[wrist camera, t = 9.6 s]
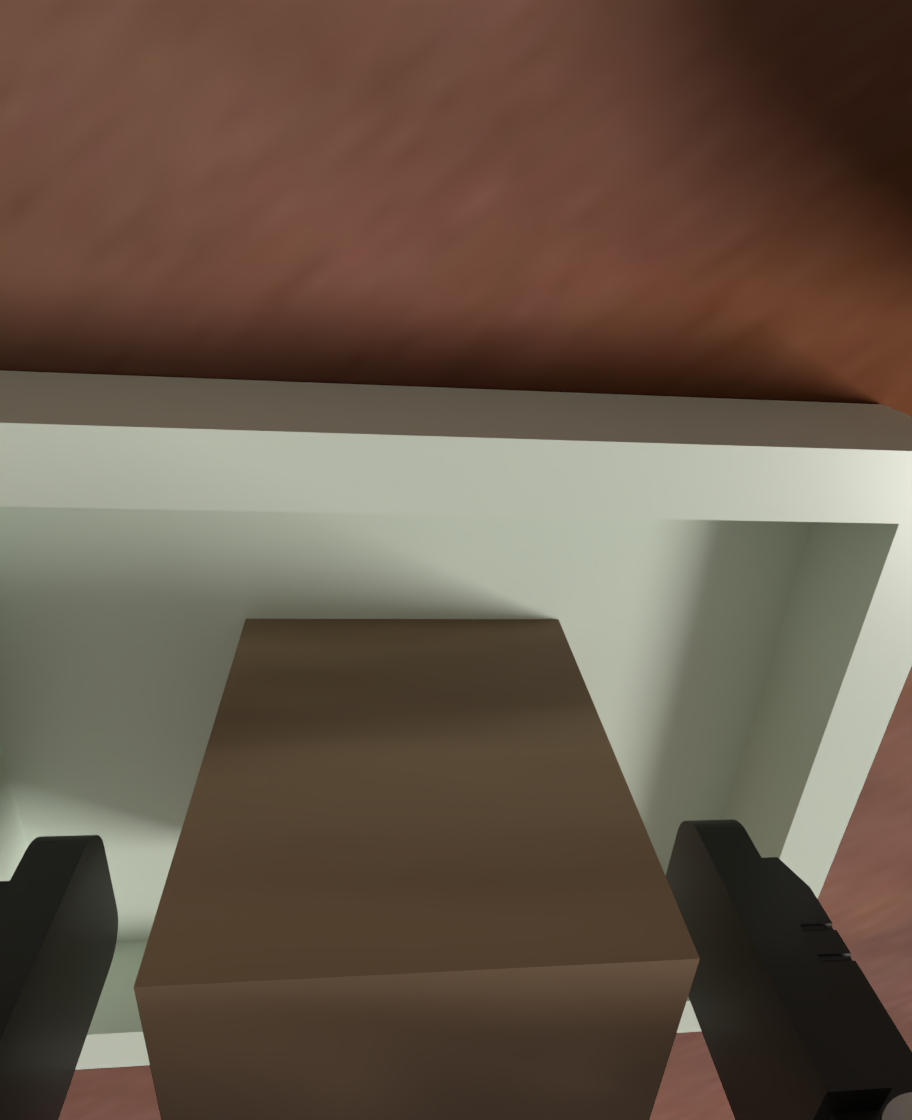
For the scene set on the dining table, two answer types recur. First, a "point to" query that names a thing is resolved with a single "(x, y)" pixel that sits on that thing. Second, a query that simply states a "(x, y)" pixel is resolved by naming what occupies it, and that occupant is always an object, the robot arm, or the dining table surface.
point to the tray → (443, 591)
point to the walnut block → (411, 889)
